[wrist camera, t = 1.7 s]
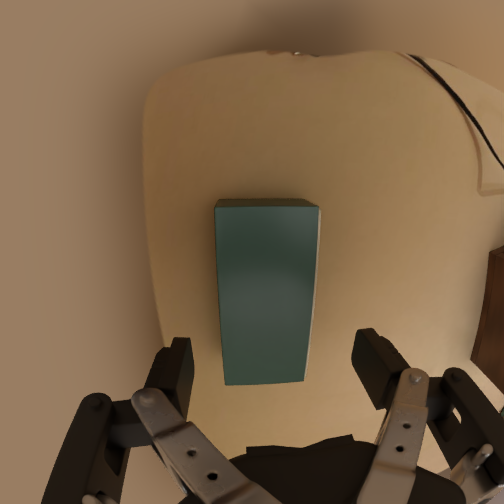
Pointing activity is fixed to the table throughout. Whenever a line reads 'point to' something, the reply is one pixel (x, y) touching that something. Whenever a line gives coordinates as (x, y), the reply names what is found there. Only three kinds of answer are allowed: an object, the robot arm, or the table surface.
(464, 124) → the table surface
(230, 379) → the green rectangular block
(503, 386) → the shelf
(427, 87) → the table surface
